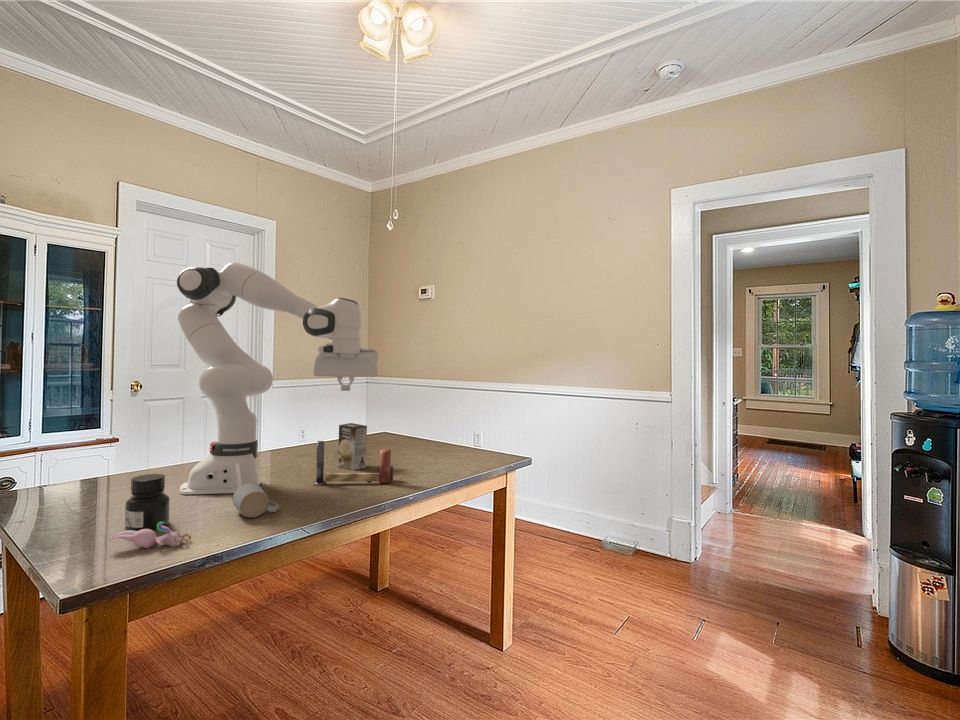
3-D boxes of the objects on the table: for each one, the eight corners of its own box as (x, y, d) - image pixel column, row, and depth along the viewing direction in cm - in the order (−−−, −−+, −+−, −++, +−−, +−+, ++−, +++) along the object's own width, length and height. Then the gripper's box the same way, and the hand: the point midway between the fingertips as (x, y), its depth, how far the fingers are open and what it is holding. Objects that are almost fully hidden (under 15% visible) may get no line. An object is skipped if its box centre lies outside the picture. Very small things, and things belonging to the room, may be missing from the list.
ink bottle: (121, 524, 117) (122, 476, 117) (164, 516, 123) (164, 470, 123) (128, 536, 110) (129, 484, 110) (173, 527, 117) (174, 478, 116)
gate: (323, 484, 156) (324, 451, 155) (325, 481, 159) (326, 449, 159) (389, 483, 158) (390, 451, 158) (390, 480, 162) (391, 449, 162)
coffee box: (336, 467, 180) (337, 424, 180) (349, 463, 186) (350, 422, 185) (353, 470, 175) (354, 427, 175) (366, 467, 181) (367, 425, 181)
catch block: (377, 481, 162) (378, 466, 162) (378, 479, 164) (378, 465, 164) (392, 481, 162) (393, 466, 162) (392, 479, 165) (393, 465, 165)
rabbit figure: (191, 544, 110) (115, 539, 106) (196, 519, 110) (121, 513, 106) (183, 555, 104) (103, 551, 100) (189, 528, 104) (108, 523, 100)
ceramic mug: (239, 522, 121) (240, 491, 121) (231, 513, 128) (233, 484, 127) (282, 514, 128) (283, 486, 128) (273, 506, 134) (274, 479, 134)
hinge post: (313, 486, 154) (314, 442, 154) (312, 482, 158) (313, 440, 158) (326, 485, 156) (327, 442, 156) (325, 481, 160) (326, 440, 159)
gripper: (376, 349, 162) (375, 389, 163) (313, 347, 154) (312, 389, 155) (380, 349, 157) (379, 391, 157) (314, 347, 149) (313, 391, 149)
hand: (345, 390), depth 156 cm, fingers closed
